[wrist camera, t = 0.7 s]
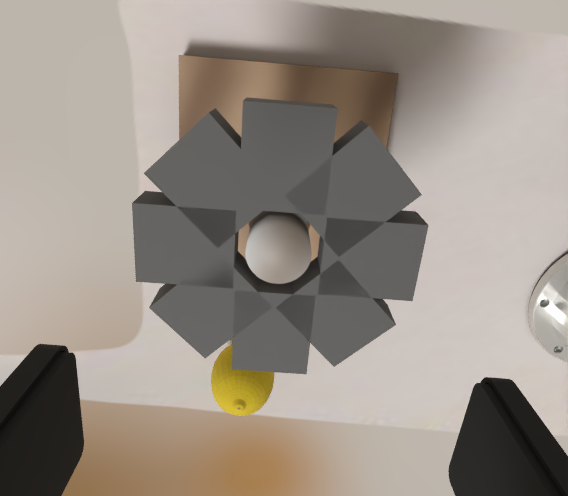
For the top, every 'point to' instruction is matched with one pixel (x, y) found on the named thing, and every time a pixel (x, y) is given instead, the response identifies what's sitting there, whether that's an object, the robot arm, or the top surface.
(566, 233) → the top surface
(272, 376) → the lemon
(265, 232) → the pipe stand
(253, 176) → the grey flat ring
